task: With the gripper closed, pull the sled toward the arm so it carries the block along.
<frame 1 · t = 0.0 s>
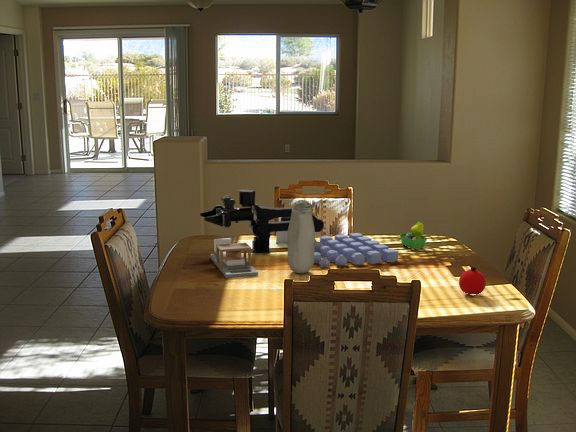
hand: (202, 216, 272), 17 cm above the table, tool horizontal, fingers open, 9 cm apart
ornament: (471, 295, 229), on the table
blocks: (341, 256, 280), on the table
block: (233, 260, 259), point 3 cm above the table, touching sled
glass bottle: (300, 272, 254), on the table
fruit basket: (413, 247, 294), on the table
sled: (228, 251, 266), point 4 cm above the table, slide at 0.0 cm, touching block
grey piece: (233, 267, 260), on the table
medicine bottle: (284, 242, 301), on the table
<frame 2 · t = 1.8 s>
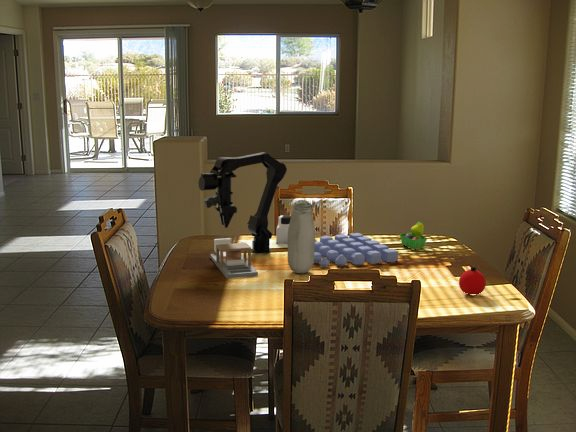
hand: (224, 226, 272), 13 cm above the table, tool pointing down, fingers open, 5 cm apart
nothing on the table moved.
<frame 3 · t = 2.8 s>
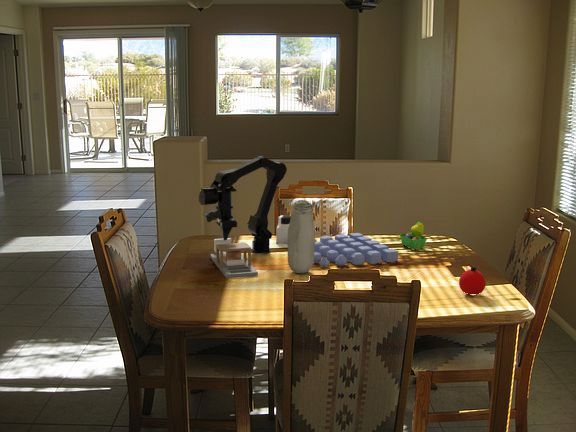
hand: (225, 240, 273), 7 cm above the table, tool pointing down, fingers closed
nothing on the table moved.
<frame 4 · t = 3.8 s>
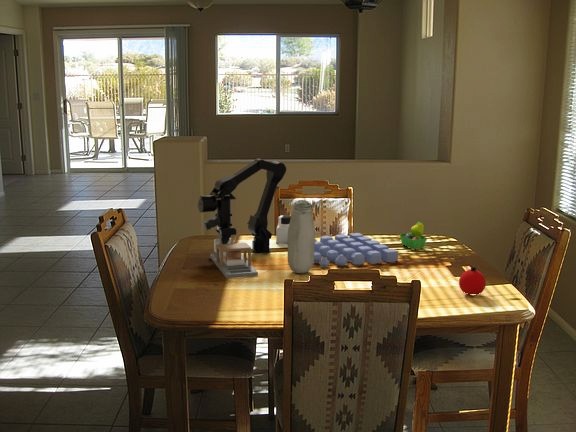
hand: (224, 247, 275), 4 cm above the table, tool pointing down, fingers closed
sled: (228, 251, 266), point 4 cm above the table, slide at -0.1 cm, touching block, gripper
everything else where it was.
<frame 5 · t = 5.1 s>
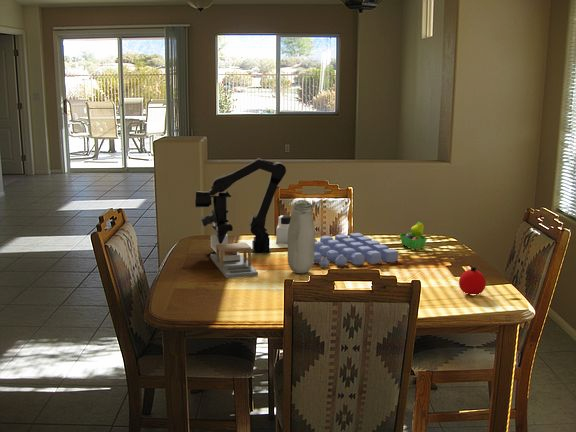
hand: (220, 243, 281), 4 cm above the table, tool pointing down, fingers closed
block: (229, 255, 266), point 3 cm above the table, touching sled
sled: (225, 247, 273), point 4 cm above the table, slide at -7.1 cm, touching block, gripper
everything else where it was.
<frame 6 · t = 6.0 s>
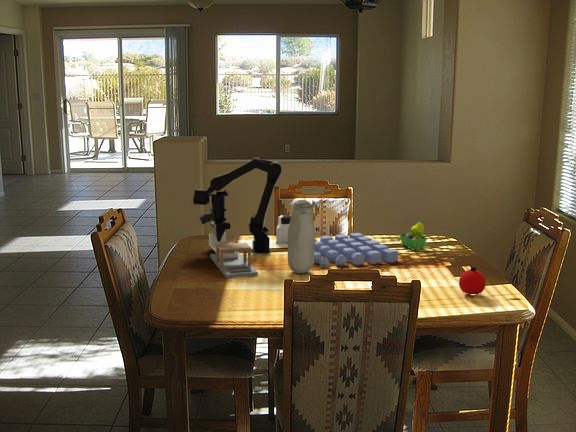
hand: (218, 241, 284), 4 cm above the table, tool pointing down, fingers closed
block: (227, 253, 269), point 3 cm above the table, touching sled
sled: (223, 245, 276), point 4 cm above the table, slide at -10.6 cm, touching block, gripper
everything else where it was.
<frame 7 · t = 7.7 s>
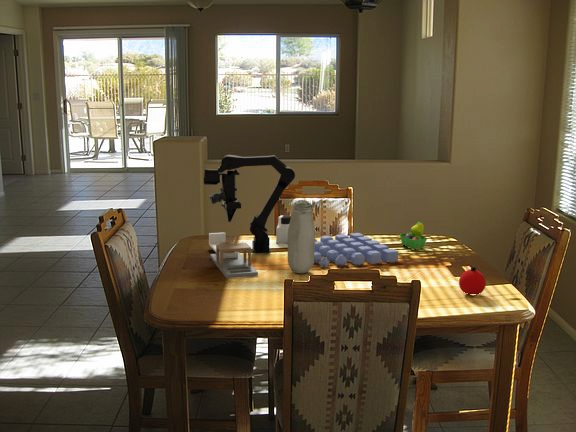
hand: (229, 221, 281), 13 cm above the table, tool pointing down, fingers closed
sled: (223, 245, 276), point 4 cm above the table, slide at -10.8 cm, touching block
everything else where it was.
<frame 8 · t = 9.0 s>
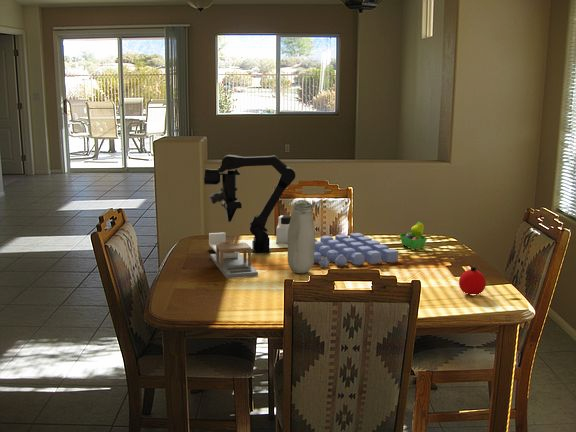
hand: (229, 221, 281), 13 cm above the table, tool pointing down, fingers closed
nothing on the table moved.
at the end: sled slide at -10.8 cm; block inside the target area (0.4 cm from its centre), point 2.8 cm above the table; block tilted 0° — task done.
